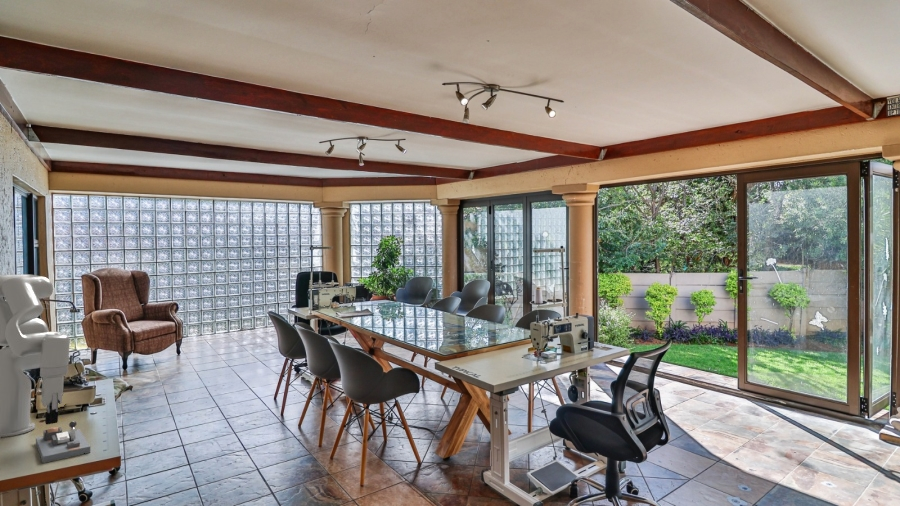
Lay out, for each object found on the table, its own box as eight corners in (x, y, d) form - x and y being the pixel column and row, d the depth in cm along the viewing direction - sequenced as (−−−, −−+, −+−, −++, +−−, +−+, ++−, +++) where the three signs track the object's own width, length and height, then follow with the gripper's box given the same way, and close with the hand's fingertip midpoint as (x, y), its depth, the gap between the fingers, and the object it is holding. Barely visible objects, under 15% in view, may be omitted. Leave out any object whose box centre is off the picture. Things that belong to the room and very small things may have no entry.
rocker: (56, 436, 160) (56, 433, 160) (67, 434, 162) (67, 431, 162) (57, 443, 157) (58, 440, 157) (69, 441, 159) (69, 437, 159)
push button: (46, 437, 163) (46, 428, 163) (57, 435, 165) (57, 426, 165) (47, 439, 161) (47, 430, 161) (58, 437, 163) (58, 428, 163)
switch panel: (35, 443, 163) (36, 430, 163) (79, 434, 171) (79, 422, 172) (42, 463, 148) (43, 448, 148) (90, 452, 156) (90, 438, 156)
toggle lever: (69, 440, 156) (68, 422, 158) (76, 439, 158) (76, 421, 160) (70, 439, 155) (69, 421, 157) (77, 438, 156) (77, 420, 158)
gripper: (37, 367, 166) (35, 419, 166) (42, 377, 156) (39, 432, 156) (65, 365, 171) (62, 414, 171) (71, 373, 161) (68, 426, 161)
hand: (51, 422), depth 163 cm, fingers closed
